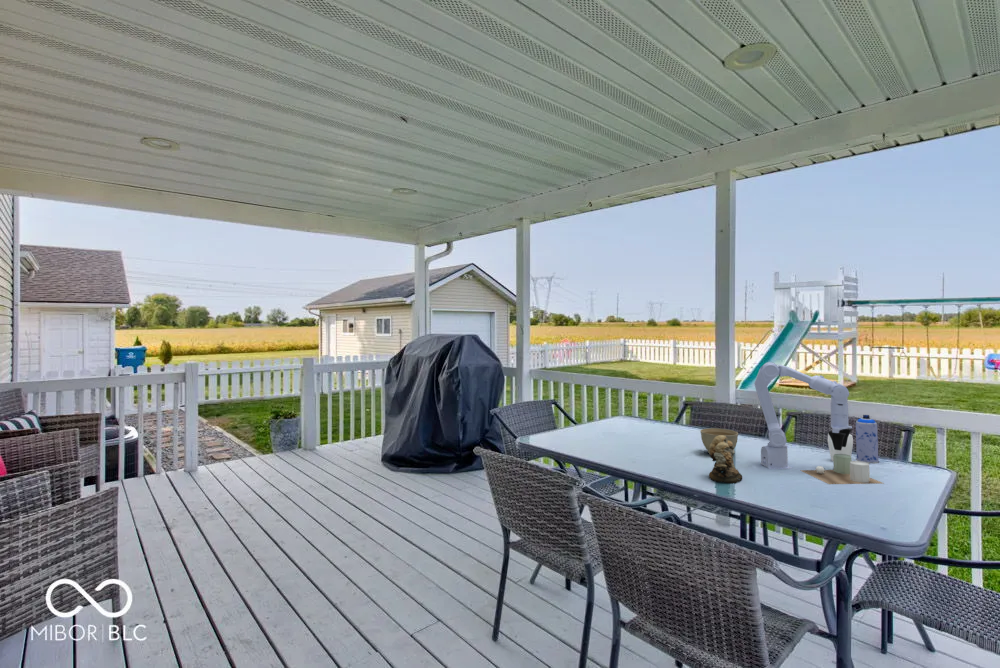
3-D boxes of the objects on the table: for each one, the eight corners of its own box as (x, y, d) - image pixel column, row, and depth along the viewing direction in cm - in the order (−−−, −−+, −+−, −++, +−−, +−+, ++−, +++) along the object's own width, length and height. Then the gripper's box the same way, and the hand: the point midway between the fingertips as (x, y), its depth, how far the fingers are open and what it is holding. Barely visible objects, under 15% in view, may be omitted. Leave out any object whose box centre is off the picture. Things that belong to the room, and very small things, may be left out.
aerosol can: (871, 458, 210) (869, 413, 210) (883, 463, 202) (882, 416, 202) (852, 458, 211) (850, 413, 211) (863, 463, 203) (862, 416, 203)
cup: (858, 463, 203) (857, 435, 203) (844, 466, 200) (843, 437, 200) (837, 458, 212) (836, 431, 212) (823, 460, 208) (822, 433, 208)
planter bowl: (727, 461, 212) (726, 436, 212) (694, 454, 225) (693, 431, 225) (745, 455, 222) (744, 431, 222) (712, 448, 235) (712, 426, 235)
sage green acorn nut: (840, 474, 187) (839, 457, 187) (831, 470, 193) (830, 453, 193) (854, 473, 187) (854, 457, 187) (845, 469, 193) (844, 453, 193)
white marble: (818, 474, 187) (818, 467, 187) (814, 472, 190) (813, 465, 190) (826, 474, 187) (826, 467, 187) (821, 472, 190) (821, 465, 190)
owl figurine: (740, 487, 177) (739, 441, 177) (706, 483, 183) (704, 438, 183) (743, 473, 193) (741, 431, 193) (711, 470, 199) (710, 429, 199)
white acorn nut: (857, 482, 177) (857, 464, 177) (847, 478, 182) (846, 460, 182) (873, 482, 176) (872, 464, 176) (862, 477, 182) (861, 460, 182)
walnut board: (829, 485, 176) (829, 484, 176) (799, 471, 194) (799, 470, 194) (884, 484, 175) (884, 483, 175) (850, 470, 193) (850, 469, 193)
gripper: (847, 417, 183) (848, 453, 183) (855, 413, 193) (856, 446, 193) (825, 415, 188) (826, 450, 188) (834, 411, 198) (835, 443, 198)
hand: (840, 448), depth 191 cm, fingers open, 7 cm apart
